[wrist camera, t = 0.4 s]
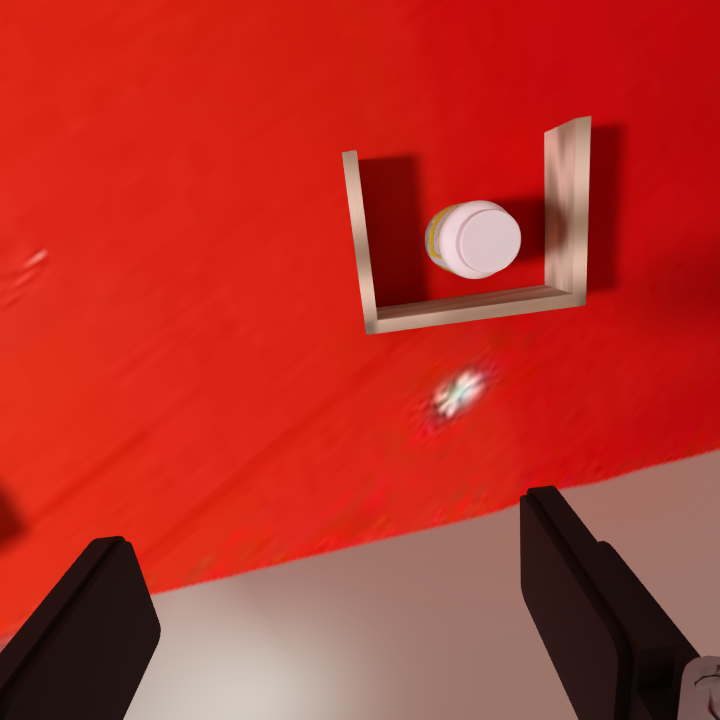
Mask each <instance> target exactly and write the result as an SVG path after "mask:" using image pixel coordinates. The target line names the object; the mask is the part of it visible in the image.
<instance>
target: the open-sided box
mask: <svg viewBox="0 0 720 720" xmlns="http://www.w3.org/2000/svg"><path fill="white" fill-rule="evenodd" d="M590 133H591V116H589V117H582V118H576V119H574V120H571V121H569V122H567V123H565V124H563V125H561V126H559V127H556V128H554V129H552V130H550V131H548V132H546V133H545V285H540V286H533V287H525V288H518V289H511V290H503V291H496V292H489V293H481V294H474V295H467V296H460V297H452V298H445V299H438V300H430V301H423V302H416V303H408V304H401V305H394V306H386V307H379V308H376V303H375V295H374V287H373V279H372V271H371V263H370V255H369V247H368V239H367V231H366V223H365V215H364V207H363V199H362V191H361V183H360V175H359V167H358V159H357V151H349V152H342V157H343V164H344V172H345V179H346V186H347V194H348V201H349V209H350V216H351V224H352V231H353V238H354V246H355V253H356V261H357V268H358V276H359V283H360V291H361V298H362V305H363V313H364V320H365V328H366V335H368V334H376V333H383V332H390V331H398V330H405V329H413V328H420V327H427V326H435V325H442V324H450V323H457V322H464V321H472V320H479V319H487V318H494V317H501V316H509V315H516V314H524V313H531V312H538V311H546V310H553V309H560V308H568V307H575V306H583V305H586V280H587V243H588V206H589V170H590Z"/></svg>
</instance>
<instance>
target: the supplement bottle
mask: <svg viewBox="0 0 720 720" xmlns="http://www.w3.org/2000/svg"><path fill="white" fill-rule="evenodd" d="M520 244H521V233H520V229H519V226H518V224H517V222H516V221H515V220H514V218H513V217H512V216H511V215H509V214H508V213H507V212H506V211H505V210H504V209H503V208H502V207H501V206H499V205H497V204H495V203H493V202H489V201H479V200H478V201H470V202H466V203H461V204H457V205H453V206H450V207H447V208H445V209H443V210H441V211H440V212H438V213H437V214H436V215H435V216H434V217H433V219H432V220H431V221H430V223H429V225H428V227H427V230H426V235H425V245H426V250H427V252H428V254H429V256H430V258H431V259H432V260H433V262H434V263H436V264H437V265H438V266H440V267H441V268H443V269H445V270H448V271H450V272H452V273H454V274H457V275H459V276H461V277H465V278H470V279H479V278H484V277H488V276H490V275H492V274H494V273H496V272H497V271H500V270H502V269H504V268H505V267H507V266H508V265H509V264H510V263H511V262H512V261H513V260H514V258H515V257H516V255H517V253H518V251H519V248H520Z"/></svg>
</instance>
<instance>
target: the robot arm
mask: <svg viewBox="0 0 720 720" xmlns="http://www.w3.org/2000/svg"><path fill="white" fill-rule="evenodd" d="M520 555H521V589H522V593H523V597H524V600H525V603H526V605H527V607H528V610H529V612H530V614H531V616H532V618H533V621H534V623H535V625H536V627H537V629H538V632H539V634H540V636H541V638H542V640H543V643H544V645H545V647H546V649H547V651H548V653H549V656H550V658H551V660H552V662H553V665H554V667H555V669H556V671H557V673H558V675H559V678H560V680H561V682H562V684H563V687H564V689H565V691H566V693H567V695H568V697H569V700H570V702H571V704H572V706H573V708H574V711H575V713H576V715H577V717H578V719H579V720H720V657H716V656H704V657H701V656H700V655H699V654H698V653H697V651H696V650H695V649H694V648H693V646H692V645H691V644H690V643H689V641H688V640H687V639H686V638H685V636H684V635H683V634H682V633H681V631H680V630H679V629H678V628H677V627H676V625H675V624H674V623H673V621H672V620H671V619H670V618H669V616H668V615H667V614H666V613H665V611H664V610H663V609H662V608H661V606H660V605H659V604H658V603H657V602H656V600H655V599H654V598H653V597H652V595H651V594H650V593H649V592H648V590H647V589H646V588H645V587H644V585H643V584H642V583H641V582H640V581H639V579H638V578H637V577H636V575H635V574H634V573H633V572H632V570H631V569H630V568H629V567H628V565H627V564H626V563H625V562H624V560H623V559H622V558H621V557H620V555H619V554H618V553H617V552H616V550H615V549H614V548H613V547H612V546H611V545H610V544H609V543H607V542H605V541H601V542H597V540H596V539H595V538H594V537H593V535H592V534H591V533H590V531H589V530H588V529H587V527H586V526H585V525H584V524H583V522H582V521H581V520H580V518H579V517H578V516H577V514H576V513H575V512H574V511H573V509H572V508H571V507H570V505H569V504H568V503H567V501H566V500H565V499H564V497H563V496H562V495H561V494H560V492H559V491H558V490H557V488H556V487H555V486H544V487H536V488H529V489H528V491H527V495H523V496H521V497H520ZM160 633H161V627H160V623H159V620H158V617H157V614H156V611H155V609H154V606H153V603H152V600H151V597H150V594H149V592H148V589H147V586H146V583H145V580H144V577H143V574H142V572H141V569H140V566H139V563H138V560H137V557H136V555H135V552H134V549H133V546H132V544H131V543H130V542H128V541H125V539H124V538H123V537H122V536H114V537H105V538H97V539H94V540H93V541H92V542H91V543H90V544H89V545H88V546H87V547H86V549H85V550H84V551H83V552H82V553H81V555H80V556H79V557H78V558H77V560H76V561H75V562H74V563H73V564H72V566H71V567H70V568H69V569H68V571H67V572H66V573H65V574H64V576H63V577H62V578H61V579H60V580H59V582H58V583H57V584H56V585H55V587H54V588H53V589H52V590H51V591H50V593H49V594H48V595H47V596H46V598H45V599H44V600H43V601H42V603H41V604H40V605H39V606H38V607H37V609H36V610H35V611H34V612H33V614H32V615H31V616H30V617H29V618H28V620H27V621H26V622H25V623H24V625H23V626H22V627H21V628H20V630H19V631H18V632H17V633H16V634H15V636H14V637H13V638H12V639H11V641H10V642H9V643H8V644H7V645H6V647H5V648H4V649H3V650H2V652H1V653H0V720H123V719H124V716H125V714H126V712H127V710H128V708H129V705H130V703H131V701H132V699H133V697H134V695H135V692H136V690H137V688H138V686H139V684H140V682H141V679H142V677H143V675H144V673H145V671H146V669H147V666H148V664H149V662H150V660H151V658H152V655H153V653H154V651H155V649H156V647H157V645H158V642H159V639H160Z"/></svg>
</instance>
